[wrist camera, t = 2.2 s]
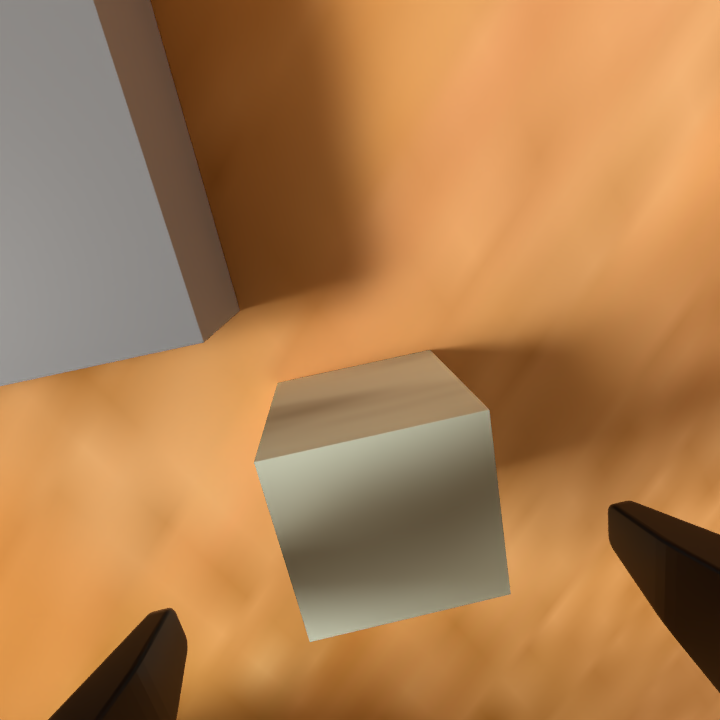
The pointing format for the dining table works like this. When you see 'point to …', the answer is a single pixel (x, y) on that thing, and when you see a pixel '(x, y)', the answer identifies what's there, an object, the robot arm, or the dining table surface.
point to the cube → (383, 493)
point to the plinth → (98, 194)
